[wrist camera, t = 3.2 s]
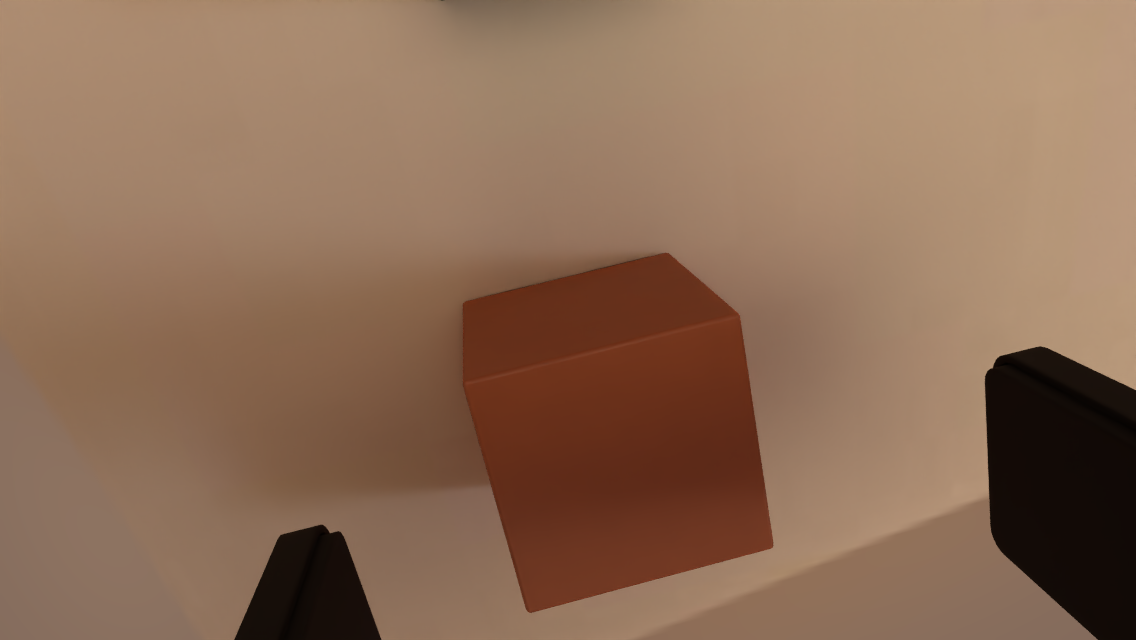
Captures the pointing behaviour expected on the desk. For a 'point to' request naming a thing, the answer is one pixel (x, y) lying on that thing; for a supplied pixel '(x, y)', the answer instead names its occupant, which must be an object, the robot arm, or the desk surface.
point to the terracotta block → (615, 428)
